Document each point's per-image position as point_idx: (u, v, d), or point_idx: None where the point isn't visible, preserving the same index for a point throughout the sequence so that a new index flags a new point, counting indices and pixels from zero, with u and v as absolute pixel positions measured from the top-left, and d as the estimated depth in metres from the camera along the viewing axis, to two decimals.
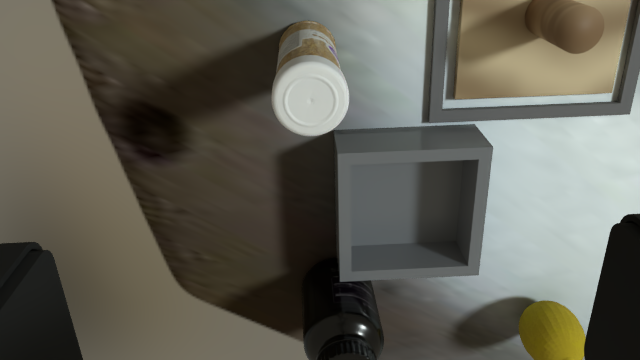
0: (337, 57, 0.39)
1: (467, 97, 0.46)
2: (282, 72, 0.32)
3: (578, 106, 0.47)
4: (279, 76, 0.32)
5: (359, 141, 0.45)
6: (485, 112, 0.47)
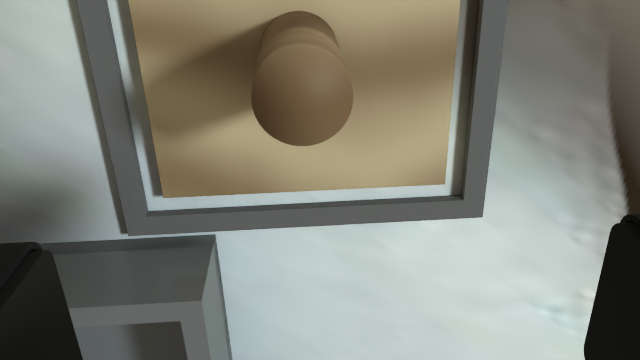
0: None
1: (185, 194, 0.26)
2: None
3: (390, 205, 0.27)
4: None
5: None
6: (225, 218, 0.27)
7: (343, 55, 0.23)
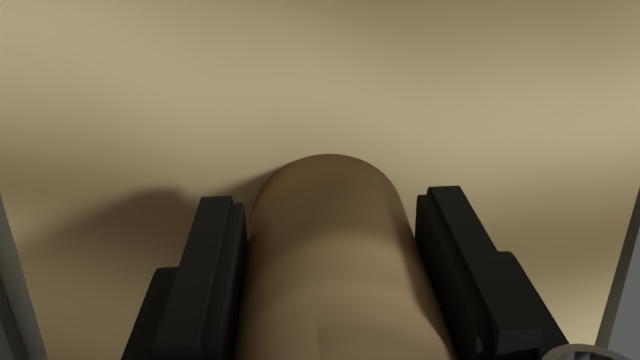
0: None
1: None
2: None
3: None
4: None
5: None
6: None
7: (413, 232, 0.12)
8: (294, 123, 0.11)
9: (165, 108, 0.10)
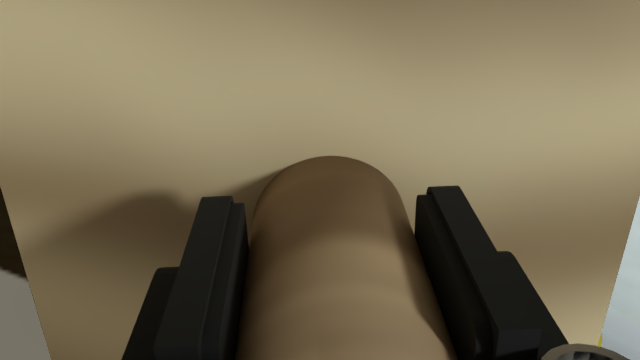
0: None
1: None
2: None
3: None
4: None
5: None
6: None
7: None
8: (295, 125, 0.11)
9: (166, 111, 0.11)
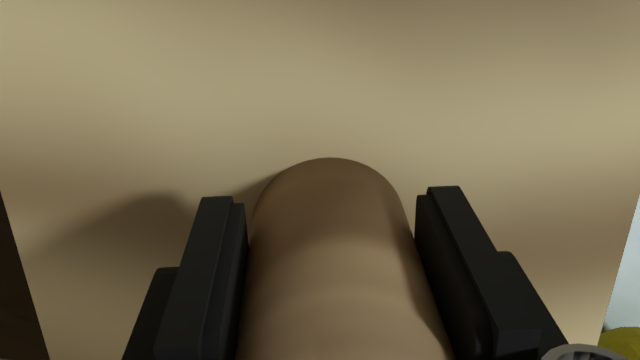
0: None
1: None
2: None
3: None
4: None
5: None
6: None
7: None
8: (294, 127, 0.11)
9: (165, 113, 0.11)
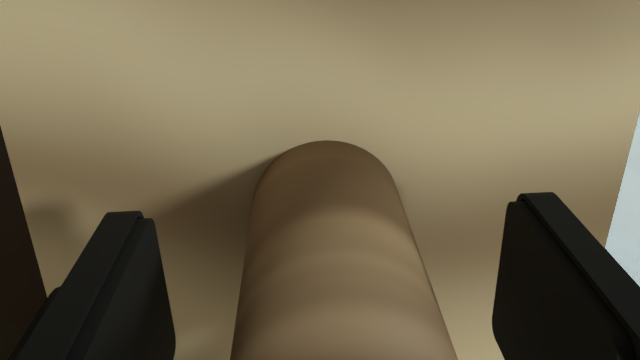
0: None
1: None
2: None
3: None
4: None
5: None
6: None
7: (407, 216, 0.12)
8: (293, 111, 0.11)
9: (171, 98, 0.11)
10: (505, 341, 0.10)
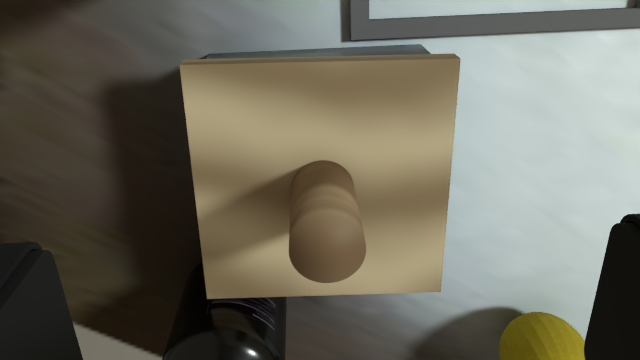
0: None
1: (225, 296, 0.31)
2: None
3: (576, 13, 0.31)
4: None
5: None
6: (435, 23, 0.31)
7: (358, 193, 0.29)
8: (308, 148, 0.28)
9: (259, 143, 0.28)
10: None
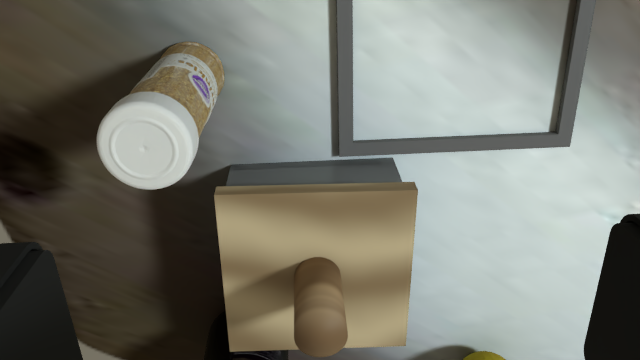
0: (210, 87, 0.33)
1: (243, 350, 0.41)
2: (106, 114, 0.26)
3: (510, 137, 0.41)
4: None
5: (254, 179, 0.39)
6: (403, 144, 0.41)
7: (343, 278, 0.39)
8: (307, 249, 0.38)
9: (271, 246, 0.37)
10: None
